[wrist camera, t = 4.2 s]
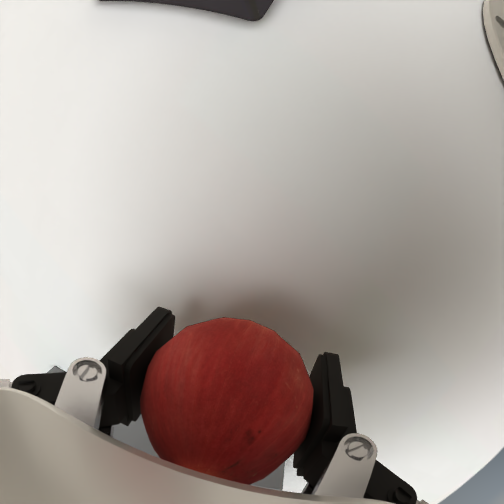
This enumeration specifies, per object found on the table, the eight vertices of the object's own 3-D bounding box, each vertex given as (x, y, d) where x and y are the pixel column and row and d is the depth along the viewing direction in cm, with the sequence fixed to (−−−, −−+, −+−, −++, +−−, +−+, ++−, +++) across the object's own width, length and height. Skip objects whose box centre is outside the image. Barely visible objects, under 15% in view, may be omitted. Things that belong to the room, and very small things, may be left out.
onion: (326, 376, 12) (331, 534, 5) (217, 398, 14) (166, 528, 6) (285, 265, 11) (254, 436, 4) (163, 305, 13) (50, 427, 5)
